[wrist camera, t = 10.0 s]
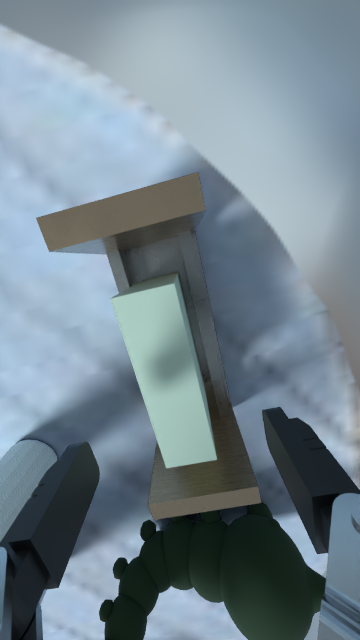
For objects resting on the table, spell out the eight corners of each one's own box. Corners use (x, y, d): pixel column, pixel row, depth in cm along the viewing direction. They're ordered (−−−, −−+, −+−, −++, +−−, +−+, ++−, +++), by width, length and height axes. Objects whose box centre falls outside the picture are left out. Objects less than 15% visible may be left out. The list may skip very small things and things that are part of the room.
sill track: (231, 408, 25) (261, 502, 15) (164, 421, 26) (153, 519, 16) (190, 214, 19) (198, 172, 10) (106, 237, 20) (36, 217, 10)
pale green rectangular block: (204, 383, 23) (217, 459, 14) (172, 390, 23) (166, 468, 15) (177, 272, 20) (174, 283, 11) (141, 281, 20) (110, 298, 11)
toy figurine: (142, 534, 34) (313, 526, 29) (74, 857, 16) (485, 954, 12) (123, 491, 31) (306, 475, 27) (15, 816, 13) (514, 920, 9)
